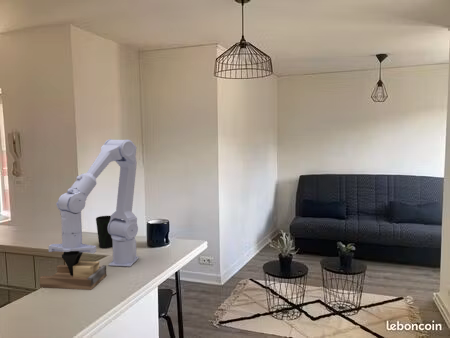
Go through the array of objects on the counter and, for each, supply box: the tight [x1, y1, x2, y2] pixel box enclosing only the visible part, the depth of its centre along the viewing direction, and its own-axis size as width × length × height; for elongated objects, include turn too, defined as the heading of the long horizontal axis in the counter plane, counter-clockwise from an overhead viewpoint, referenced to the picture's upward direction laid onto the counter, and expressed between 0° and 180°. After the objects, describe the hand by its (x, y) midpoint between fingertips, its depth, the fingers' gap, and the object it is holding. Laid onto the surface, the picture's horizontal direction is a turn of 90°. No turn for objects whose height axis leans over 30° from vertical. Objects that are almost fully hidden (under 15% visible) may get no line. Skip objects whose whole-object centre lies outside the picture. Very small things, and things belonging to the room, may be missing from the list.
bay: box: [39, 264, 107, 291], centre depth 116 cm, size 11×16×4 cm
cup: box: [95, 215, 113, 249], centre depth 152 cm, size 8×8×12 cm
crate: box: [73, 260, 100, 278], centre depth 116 cm, size 5×6×5 cm
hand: (73, 274), depth 116 cm, fingers closed
